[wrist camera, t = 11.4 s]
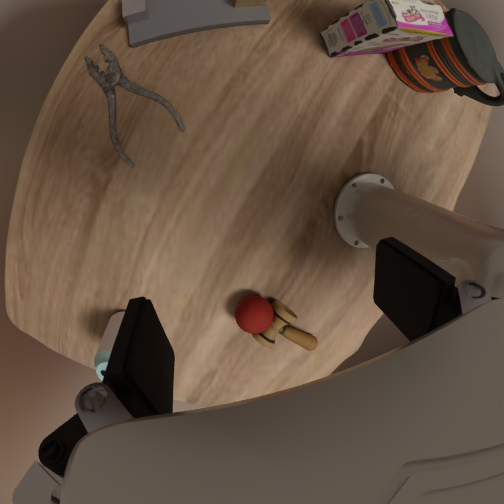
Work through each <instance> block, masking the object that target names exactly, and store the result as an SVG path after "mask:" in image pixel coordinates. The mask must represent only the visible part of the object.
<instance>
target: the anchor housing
mask: <svg viewBox="0 0 504 504" xmlns="http://www.w3.org/2000/svg"><path fill="white" fill-rule="evenodd" d="M146 1H147V0H122V13H123V18H124V20H125V21H126V23H127V24H128V25H131V24H134V23H137V22H141V21H144V20H147V19H149V13H148V10H147V8H146Z"/></svg>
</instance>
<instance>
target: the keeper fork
mask: <svg viewBox="0 0 504 504" xmlns="http://www.w3.org/2000/svg"><path fill="white" fill-rule="evenodd" d="M265 2H266V0H233V3H234V7H235V8H240V7H257V6H264V4H265Z"/></svg>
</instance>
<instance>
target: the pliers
mask: <svg viewBox="0 0 504 504" xmlns="http://www.w3.org/2000/svg"><path fill="white" fill-rule="evenodd" d="M100 47H101V50H102V53H104V54H105V58H104V60H105V62H108V61H109V62H110V65H109V66H108V67H107V69H108V70H107V71H105V72H104V71H102V72H100V73H99V72H98V68H99V67H98V66H97V65H93V61H91V60H90V59H89V58H88V57H87V56H85V60H86V63H87V67H88V70H89V73H90V75H91V76H92V77H93V78H94V79H95V80H96V81H97V82H98V83H99V84H100V85H101V86H102V88H103V90H104V92H105V94H106V96H107V99H108V105H109V123H110V133H111V138H112V141H113V144H114V146H115V148H116V150H117V151H118V153H119V155H120V156H121V157H122V159H123V160H124V161H125V162H126V163H127V164H128V165H129V166H130V167H134V164H133V162H132V161H131V160H130V159H129V158H128V157H127V156H126V155H125V153H124V152H123V150H122V148H121V146H120V144H119V142H118V139H117V134H116V96H115V90H114V86H116V85H117V84H119V85H120V86H122V87H123V88H125V89H127V90H129V91H131V92H133V93H136V94H139V95H143V96H145V97H148V98H151V99H153V100H155V101H158V102H159V103H161V104H162V105H164V106H165V107H166V108H167V109H168V110H169V111H170V112H171V114H172V115H173V116H174V118H175V120H176V121H177V124H178V126H179V128H180V130H181V131H182V132H183V131H184V130H185V129H184V126H183V123H182V121H181V119H180V117H179V115H178V113H177V112H176V111H175V109H174V108H173V107H172V106H171V105H170V104H169V102H167V101H166V100H165V99H164V98H162V97H161V96H159V95H157V94H155V93H153V92H151V91H148V90H146V89H144V88H141V87H139V86H137V85H135V84H133V83H131V82H130V81H129V80H128V79H127V78H126V77H125V76H124V75H123V73H122V72H121V69H120V67H119V64H118V61H117V59H116V56H115V55H114V54H113V53H112V52H111V51H109V50H108V49H107V48H106V47H104V46H103V45H102V44H100Z"/></svg>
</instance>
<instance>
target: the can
mask: <svg viewBox="0 0 504 504" xmlns="http://www.w3.org/2000/svg"><path fill="white" fill-rule="evenodd" d="M124 314H125V312H117V313H115V314H113V315H112V316H111V318H110V320H109V322H108V325H107V327H106V330H105V332H104V335H103V337H102V340H101V342H100V345H99V348H98V351H97V353H96V356H95V359H94V363H95V367H96V374H97V376H98V377H99V378H100V379H101V380H102V381H103V378H104V374H105V371H106V367H107V364H108V361H109V357H110V354H111V351H112V348H113V345H114V342H115V339H116V337H117V334H118V331H119V328H120V325H121V322H122V319H123V316H124Z"/></svg>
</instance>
